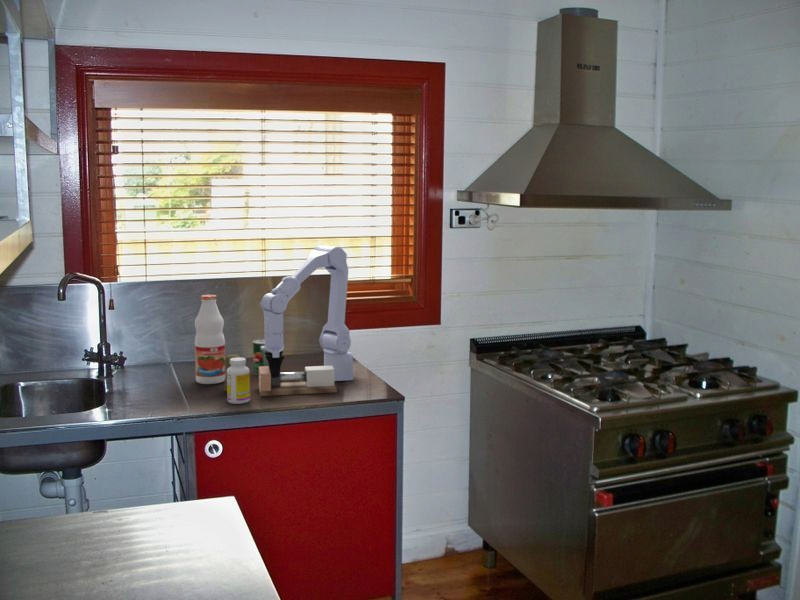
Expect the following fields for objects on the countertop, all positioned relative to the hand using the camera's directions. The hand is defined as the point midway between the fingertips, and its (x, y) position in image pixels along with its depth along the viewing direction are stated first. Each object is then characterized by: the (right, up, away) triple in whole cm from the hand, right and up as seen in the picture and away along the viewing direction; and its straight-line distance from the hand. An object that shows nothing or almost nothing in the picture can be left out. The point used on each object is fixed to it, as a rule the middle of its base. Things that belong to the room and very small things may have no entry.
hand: (274, 375), depth 256 cm
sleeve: (+14, -3, +4) cm, 14 cm away
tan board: (+7, -5, +2) cm, 9 cm away
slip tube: (+4, -3, +1) cm, 5 cm away
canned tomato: (-7, -1, +24) cm, 25 cm away
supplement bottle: (-9, -7, -11) cm, 16 cm away
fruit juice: (-22, -3, +12) cm, 26 cm away
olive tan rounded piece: (-13, -5, +2) cm, 14 cm away
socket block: (-3, -3, 0) cm, 5 cm away
